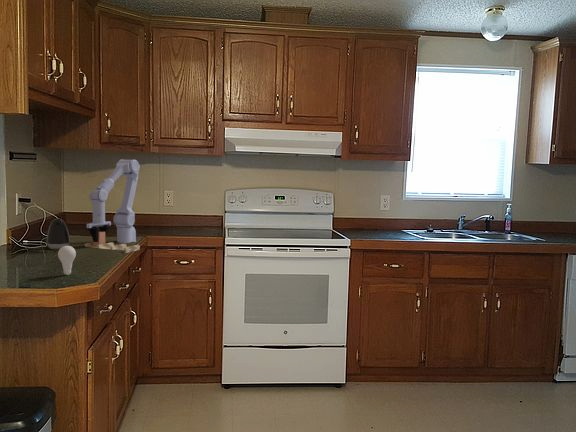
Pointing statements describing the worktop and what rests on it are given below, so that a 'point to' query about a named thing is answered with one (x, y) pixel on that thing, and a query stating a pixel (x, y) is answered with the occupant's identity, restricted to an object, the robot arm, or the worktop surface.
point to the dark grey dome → (58, 234)
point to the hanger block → (100, 239)
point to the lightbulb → (67, 258)
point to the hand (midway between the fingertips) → (99, 241)
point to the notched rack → (115, 247)
